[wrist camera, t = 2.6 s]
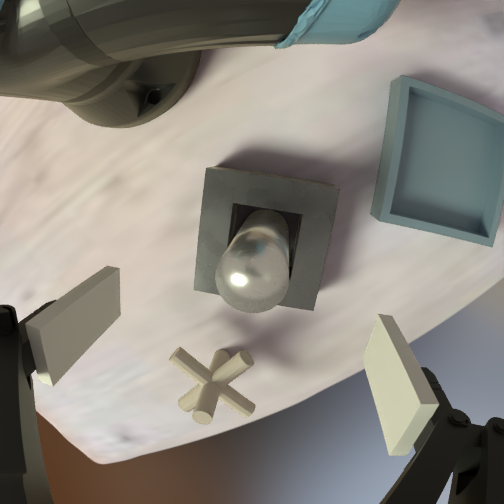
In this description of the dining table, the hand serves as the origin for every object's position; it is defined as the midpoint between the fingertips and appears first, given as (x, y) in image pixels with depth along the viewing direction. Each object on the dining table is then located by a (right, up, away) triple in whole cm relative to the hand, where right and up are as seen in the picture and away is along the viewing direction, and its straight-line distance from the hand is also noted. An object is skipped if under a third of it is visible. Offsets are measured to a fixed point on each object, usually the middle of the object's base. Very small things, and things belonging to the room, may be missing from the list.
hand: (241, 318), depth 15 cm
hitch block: (+2, +5, +15) cm, 16 cm away
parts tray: (+19, +12, +11) cm, 25 cm away
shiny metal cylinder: (+2, +5, +15) cm, 16 cm away
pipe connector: (-3, -9, +20) cm, 22 cm away
